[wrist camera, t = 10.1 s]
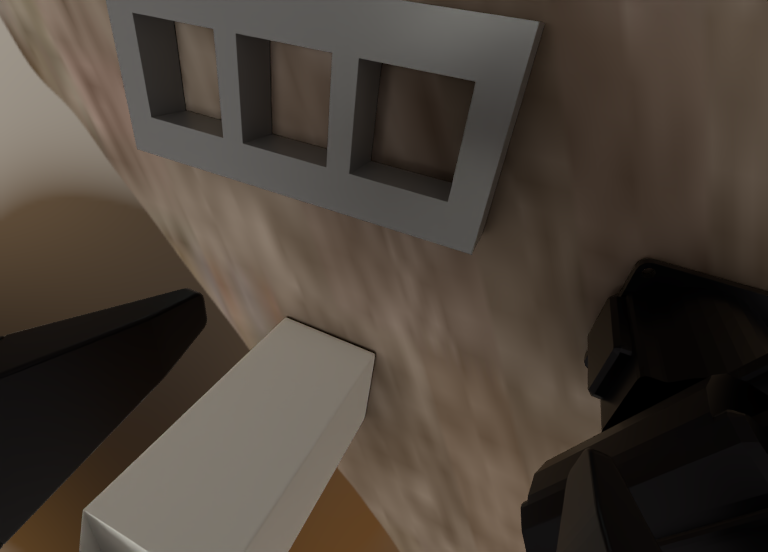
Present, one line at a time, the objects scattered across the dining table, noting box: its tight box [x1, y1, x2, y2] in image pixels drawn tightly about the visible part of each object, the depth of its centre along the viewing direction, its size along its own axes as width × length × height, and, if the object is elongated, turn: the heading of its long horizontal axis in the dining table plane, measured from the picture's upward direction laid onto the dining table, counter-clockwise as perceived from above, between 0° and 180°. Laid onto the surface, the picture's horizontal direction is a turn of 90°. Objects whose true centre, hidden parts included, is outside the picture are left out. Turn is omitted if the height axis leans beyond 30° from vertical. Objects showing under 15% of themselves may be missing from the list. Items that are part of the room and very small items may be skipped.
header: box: [106, 0, 545, 255], centre depth 19 cm, size 20×9×2 cm, turn 82°
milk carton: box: [79, 318, 375, 552], centre depth 23 cm, size 7×7×19 cm
